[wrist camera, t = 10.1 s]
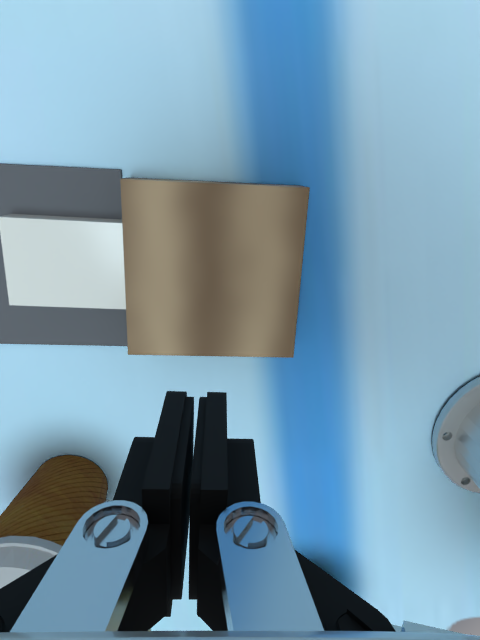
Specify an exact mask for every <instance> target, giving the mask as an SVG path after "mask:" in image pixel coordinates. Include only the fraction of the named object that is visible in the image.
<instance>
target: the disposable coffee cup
mask: <svg viewBox="0 0 480 640" xmlns="http://www.w3.org/2000/svg"><path fill="white" fill-rule="evenodd" d="M107 489H108V483H107V479H106V476H105V475H104V473H103V471H102V470H101V469H100V468H99V467H98V466H97V465H96V464H95V463H93V462H92V461H90V460H88V459H86V458H83V457H79V456H73V455H63V456H57V457H54V458H52V459H49V460H48V461H46V462H45V463H43V464H42V465H41V466H40V468H39V469H38V470H37V471H36V473H35V474H34V475H33V476H32V478H31V479H30V480H29V481H28V482H27V484H26V485H25V486H24V487H23V489H22V490H21V491H20V492H19V493H18V495H17V496H16V497H15V498H14V500H13V501H12V502H11V503H10V505H9V506H8V507H7V508H6V510H5V511H4V512H3V513H2V514H1V516H0V589H1V588H2V587H4V586H6V585H7V584H9V583H11V582H12V581H14V580H16V579H17V578H19V577H20V576H22V575H24V574H25V573H27V572H29V571H30V570H32V569H34V568H35V567H37V566H39V565H40V564H42V563H44V562H45V561H47V560H49V559H50V558H52V557H54V556H55V555H57V554H58V553H59V551H60V550H61V548H62V546H63V545H64V543H65V542H66V540H67V538H68V537H69V535H70V533H71V532H72V530H73V529H74V527H75V525H76V524H77V522H78V521H79V519H80V518H81V517H82V516H83V515H84V514H85V513H86V512H87V511H89V510H90V509H91V508H93V507H95V506H97V505H99V504H102V503H104V502H105V500H106V495H107Z"/></svg>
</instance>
